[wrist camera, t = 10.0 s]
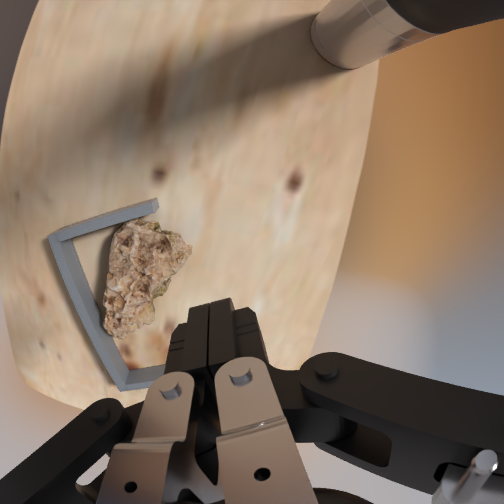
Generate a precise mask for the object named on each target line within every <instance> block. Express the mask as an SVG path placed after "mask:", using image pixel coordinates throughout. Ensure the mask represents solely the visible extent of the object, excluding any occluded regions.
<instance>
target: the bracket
mask: <svg viewBox="0 0 504 504" xmlns="http://www.w3.org/2000/svg"><path fill="white" fill-rule="evenodd" d="M158 208H159V204H158V201H157V198H154V199H150V200H147V201H144V202H140V203H137V204H133V205H130V206H127V207H124V208H120V209H117V210H114V211H111V212H107V213H104V214H101V215H98V216H95V217H92V218H89V219H86V220H83V221H80V222H77V223H74V224H71V225H68V226H65V227H63V228H60V229H58V230H56V231H54V232H53V233H51V234H50V235H48V236H47V237H48V240H49V243H50V246H51V249H52V252H53V254H54V257H55V260H56V262H57V265H58V268H59V270H60V273H61V275H62V278H63V280H64V283H65V285H66V287H67V290H68V292H69V295H70V297H71V299H72V301H73V304H74V306H75V308H76V310H77V312H78V315H79V317H80V319H81V321H82V323H83V325H84V327H85V329H86V331H87V333H88V335H89V337H90V339H91V341H92V343H93V345H94V347H95V349H96V351H97V353H98V354H99V356H100V358H101V360H102V362H103V364H104V365H105V367H106V369H107V371H108V372H109V374H110V376H111V378H112V379H113V381H114V383H115V384H116V386H117V388H118V389H119V391H120V392H122V391H129V390H137V389H144V388H149V387H150V385H151V384H152V383H153V382H154V381H155V380H156V379H158V378H159V377H161V376H163V375H164V370H165V365H166V364H164V365H159V366H153V367H147V368H141V369H135V370H129V369H128V367H127V366H126V364H125V362H124V360H123V358H122V356H121V354H120V352H119V350H118V348H117V346H116V344H115V342H114V340H113V338H112V336H111V335H110V334H108V332H107V329H105V328H104V326H103V322H104V319H103V317H102V315H101V312H100V310H99V308H98V306H97V303H96V301H95V299H94V296H93V294H92V291H91V289H90V287H89V284H88V282H87V279H86V277H85V274H84V271H83V269H82V266H81V264H80V261H79V258H78V255H77V253H76V250H75V247H74V244H73V241H72V238H73V237H76V236H79V235H82V234H85V233H88V232H92V231H95V230H98V229H101V228H104V227H108V226H111V225H114V224H117V223H121V222H124V221H128V220H131V219H134V218H138V217H141V216H145V215H148V214H152V213H155V212H156V210H157V209H158Z"/></svg>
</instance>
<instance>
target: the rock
mask: <svg viewBox="0 0 504 504" xmlns="http://www.w3.org/2000/svg"><path fill="white" fill-rule="evenodd" d="M109 254H110V256H109V272H108V274H107V281H106V283H107V284H106V288H105V293H104V296H103V306H104V307H106V310H105V311H106V317H105V320H104V322H103V326H104V328H105V329H107V332H108V334H110V335H113V336H114V337H115V338H116V337H117V338H118V339H125V338H126V337H127V333H128V332H133V331H135V330H137V329H139V328H140V327H142V326H143V325H144V324H148V325H149V324H151V322H152V321H153V320H154V319H155V317H154V313H155V309H154V305H153V299H154V298H156V297H158V296H163V294H164V293H165V292H166V290H167V288H168V286H169V283H170V282H171V279H170V278H171V275H174V274H175V273H176V272H177V271H178V270H179V269H180V268H181V267H182V266H183V265H184V263H185V262H186V260H187V259H188V257H189V256H190V255H191V254H192V246H191V245H186V244H185V242H184V241H183V239H182V238H181V235H180V234H179V233H173V232H172V231H162V230H161V228H160V225H159V223H158V222H155V221H154V222H146V221H142V220H140V219H139V218H134V219H131V220H129V221H127V222H124V224H123V225H122V226H121V227H120V228H119V230H118V231H116V232H115V234H114V236H113V239H112V243H111V246H110V249H109Z"/></svg>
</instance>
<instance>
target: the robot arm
mask: <svg viewBox="0 0 504 504" xmlns="http://www.w3.org/2000/svg"><path fill="white" fill-rule="evenodd" d="M503 18H504V0H331V1H330V2H329V3H328V4H327V5H326V6H325V7H324V9H323V10H322V11H321V12H320V13H319V14H318V15H317V16H316V17H315V19H314V20H313V22H312V25H311V31H310V33H311V39H312V42H313V44H314V46H315V48H316V50H317V51H318V52H319V53H320V55H321V56H322V57H323V58H325V59H326V60H327V61H328V62H330V63H332V64H334V65H335V66H338V67H341V68H346V69H355V68H359V67H362V66H364V65H366V64H369V63H371V62H373V61H375V60H378V59H380V58H382V57H385V56H387V55H389V54H392V53H394V52H396V51H399V50H401V49H403V48H406V47H409V46H411V45H414V44H416V43H419V42H422V41H424V40H427V39H429V38H432V37H435V36H438V35H440V34H443V33H447V32H449V31H452V30H456V29H459V28H464V27H468V26H473V25H477V24H481V23H485V22H489V21H493V20H498V19H503ZM168 351H169V352H168V355H167V360H166V365H165V370H164V375H163V376H161V377H159V378H158V379H156V380H155V381H154V382H153V383H152V384H151V385H150V387H149V389H148V391H147V394H146V398H145V400H144V401H142V402H140V403H137V404H134V405H132V406H129V407H127V408H124V407H123V406H122V404H121V403H120V402H119V401H118V400H116V399H114V398H104V399H101V400H98V401H96V402H94V403H93V404H91V405H90V406H89V407H88V408H86V409H85V410H84V411H83V412H82V413H80V414H79V415H78V416H77V417H76V418H75V419H73V420H72V421H71V422H70V423H68V424H67V425H66V426H65V427H64V428H63V429H61V430H60V431H59V432H58V433H56V434H55V435H54V436H53V437H52V438H50V439H49V440H48V441H47V442H46V443H44V444H43V445H42V446H41V447H40V448H39V449H37V450H36V451H35V452H34V453H32V454H31V455H30V456H29V457H27V458H26V459H25V460H24V461H23V462H21V463H20V464H19V465H18V466H16V467H15V468H14V469H13V470H12V471H10V472H9V473H8V474H7V475H5V476H4V477H3V478H2V479H1V480H0V504H373V503H371V502H369V501H367V500H365V499H363V498H361V497H359V496H356V495H353V494H350V493H347V492H344V491H339V490H335V489H327V488H312V486H311V483H310V480H309V478H308V475H307V472H306V470H305V467H304V465H303V462H302V460H301V457H300V454H299V452H298V449H297V446H296V444H295V443H312V442H314V444H315V445H316V446H317V447H318V448H320V449H321V450H323V451H325V452H328V453H330V454H332V455H334V456H336V457H338V458H340V459H342V460H344V461H347V462H349V463H351V464H353V465H355V466H358V467H360V468H362V469H364V470H367V471H369V472H371V473H374V474H376V475H379V476H381V477H384V478H386V479H389V480H391V481H394V482H397V483H399V484H402V485H405V486H408V487H410V488H413V489H416V490H419V491H422V492H425V493H428V494H431V495H433V497H432V504H504V396H503V395H498V394H493V393H488V392H483V391H479V390H474V389H469V388H465V387H461V386H457V385H452V384H449V383H444V382H440V381H437V380H432V379H429V378H425V377H421V376H417V375H414V374H410V373H406V372H403V371H399V370H396V369H392V368H389V367H385V366H382V365H378V364H375V363H372V362H368V361H365V360H362V359H358V358H355V357H352V356H349V355H345V354H342V353H337V352H327V353H322V354H318V355H315V356H313V357H311V358H310V359H308V360H307V361H306V362H304V363H303V365H302V366H301V368H300V370H281V369H277V368H275V367H273V366H271V365H270V364H269V361H268V357H267V352H266V348H265V344H264V341H263V338H262V334H261V331H260V327H259V324H258V320H257V317H256V313H255V312H254V311H252V310H251V309H250V308H249V307H246V308H242V309H238V310H235V309H234V306H233V303H232V300H231V298H226V299H222V300H218V301H215V302H211V303H207V304H203V305H199V306H195V307H191V308H189V313H188V320H187V323H182V324H179V325H178V326H177V328H176V329H175V330H174V331H173V333H172V335H171V340H170V345H169V350H168ZM105 453H106V454H107V455H108V456H109V457H110V459H109V462H108V465H107V468H106V469H105V470H104V471H103V472H102V473H101V474H100V475H99V476H98V477H96V478H95V479H94V480H93V481H92V482H91V483H90V484H88V485H85V486H82V485H79V484H77V483H76V481H77V479H78V478H79V477H80V476H81V475H82V474H83V473H84V472H85V471H87V470H88V469H89V468H90V467H91V466H92V465H93V464H94V463H96V462H97V461H98V460H99V459H100V458H101V457H102V456H103V455H104V454H105Z"/></svg>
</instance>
